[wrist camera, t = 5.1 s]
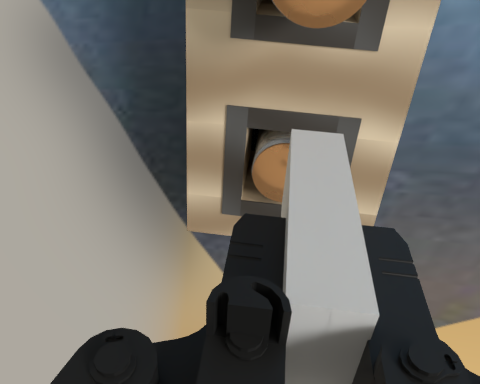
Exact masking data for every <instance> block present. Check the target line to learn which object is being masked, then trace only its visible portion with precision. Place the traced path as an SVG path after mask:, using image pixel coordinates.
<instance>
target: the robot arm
mask: <svg viewBox="0 0 480 384" xmlns="http://www.w3.org/2000/svg"><path fill="white" fill-rule="evenodd" d="M417 276H418V275H417V272H416V269H415V266H414V264H413V260H412V257H411V254H410V250H409V247H408V244H407V243H406V242H405V241H404V240H403V239H402V237H401V236H400V235H399V234H398V233H397V232H396V231H395V229H393V228H384V227H375V226H366V225H361V220H360V215H359V210H358V205H357V200H356V195H355V190H354V185H353V180H352V175H351V170H350V165H349V160H348V155H347V150H346V145H345V140H344V135H343V134H338V133H328V132H318V131H308V130H297V129H292V130H291V138H290V146H289V153H288V161H287V168H286V176H285V184H284V191H283V199H282V208H281V217H274V216H265V215H256V214H247V213H245V214H244V215H243V216H242V217H241V218H240V219H239V220H238V221H237V222H236V224H235V225H234V226H233V231H232V236H231V240H230V245H229V250H228V255H227V259H226V264H225V269H224V274H223V278H222V282H221V283H220V284H219V285H218V286H216V287H215V288H214V289H213V290H212V292H211V294H210V296H209V298H208V300H207V303H206V304H207V305H206V308H207V309H206V325H205V326H204V327H203V328H201V329H200V330H199V331H197V332H195V333H193V334H191V335H189V336H186V337H183V338H179V339H174V340H168V341H162V342H156V343H152V342H151V340H150V339H149V337H147V336H145V335H144V334H142V333H141V332H139V331H137V330H132V329H126V328H118V329H112V330H106V331H104V332H102V333H100V334H98V335H96V336H94V337H92V338H90V339H89V340H88V341H87V342H86V343H84V344H83V345H82V346H81V347H80V348H79V349H78V350H77V351H76V353H75V354H74V355H73V356H72V358H71V359H70V360H69V361H68V362H67V364H66V365H65V366H64V367H63V369H62V370H61V371H60V372H59V374H58V375H57V376H56V377H55V379H54V380H53V381H52V382H51V384H480V376H478V375H476V374H474V373H472V372H470V371H469V370H467V369H466V368H465V367H464V365H463V363H462V362H461V360H460V358H459V356H458V355H457V354H456V353H455V352H454V351H453V350H452V349H451V348H450V347H449V346H448V345H447V344H446V343H445V342H443V341H441V340H439V338H438V335H437V333H436V330H435V327H434V324H433V321H432V318H431V315H430V312H429V309H428V306H427V303H426V299H425V296H424V293H423V290H422V287H421V284H420V281H419V279H417Z"/></svg>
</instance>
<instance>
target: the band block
mask: <svg viewBox="0 0 480 384" xmlns="http://www.w3.org/2000/svg"><path fill="white" fill-rule="evenodd" d="M440 2H441V0H366V2H365V3H364V5H363V6H362V7H361V8H360V9H359V10H358V11H357V12H356V13H355V14H354V15H352V16H351V17H350V18H348V19H347V20H345V21H343V22H341V23H339V24H337V25H334V26H330V27H326V28H308V27H304V26H300V25H298V24H296V23H294V22H292V21H290V20H289V19H287V18H286V17H285V16H284V15H283V14H282V13H281V12H280V11H279V10H278V9H277V8H276V6H275V5H274V3H273V1H272V0H186V108H187V231H194V232H203V233H211V234H219V235H228V236H232V231H233V226H234V225H235V224H236V222H237V221H238V220H239V219H240V218H241V217H242V216H243V215H244V214H245V213H247V214H256V215H265V216H274V217H281V208H282V202H277V201H273V200H271V199H269V198H267V197H265V196H264V195H262V194H261V193H260V192H259V190H258V189H257V188H256V186H255V184H254V182H253V178H252V165H253V159H254V154H255V151H251V144H252V132H253V128H254V129H264V130H273V131H283V132H291V130H292V129H297V130H308V131H318V132H328V133H338V134H343V135H344V140H345V145H346V150H347V155H348V160H349V165H350V170H351V175H352V180H353V185H354V190H355V195H356V200H357V205H358V210H359V215H360V220H361V225H366V226H374V223H375V219H376V216H377V213H378V209H379V206H380V203H381V199H382V196H383V193H384V189H385V186H386V183H387V179H388V176H389V172H390V169H391V166H392V162H393V159H394V156H395V152H396V149H397V146H398V142H399V139H400V136H401V132H402V129H403V126H404V122H405V119H406V116H407V112H408V109H409V106H410V102H411V99H412V95H413V92H414V89H415V85H416V82H417V79H418V75H419V72H420V69H421V65H422V62H423V59H424V55H425V52H426V49H427V45H428V42H429V39H430V35H431V32H432V28H433V25H434V22H435V18H436V15H437V12H438V8H439V5H440Z"/></svg>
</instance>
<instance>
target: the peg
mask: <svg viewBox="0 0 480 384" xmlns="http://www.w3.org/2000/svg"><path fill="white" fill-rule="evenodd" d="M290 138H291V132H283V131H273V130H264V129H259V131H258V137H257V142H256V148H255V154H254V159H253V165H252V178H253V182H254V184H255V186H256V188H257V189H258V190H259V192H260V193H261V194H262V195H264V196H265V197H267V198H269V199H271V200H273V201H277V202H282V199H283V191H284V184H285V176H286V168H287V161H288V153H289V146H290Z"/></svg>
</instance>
